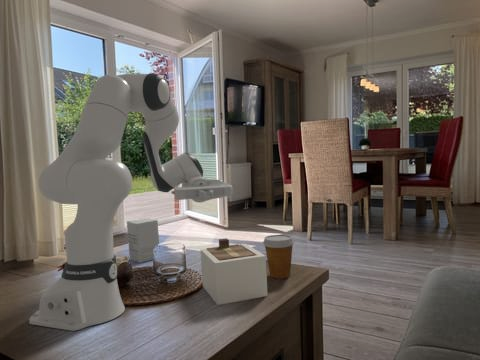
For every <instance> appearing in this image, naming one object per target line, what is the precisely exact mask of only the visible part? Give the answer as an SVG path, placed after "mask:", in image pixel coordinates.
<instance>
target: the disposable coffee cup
mask: <svg viewBox="0 0 480 360" xmlns="http://www.w3.org/2000/svg"><path fill="white" fill-rule="evenodd" d="M294 241H295V240H294V239H293V236H292V235H288V234H271V235H267V236H265V237H264V239H263V242H262V243H263V245H264V248H265V253H266V255H265V256H266V262H267V266H268V271H269V276H270V277H271V278H273V279H287V278H289V277H291V270H292V269H291V268H292V257H293V245H294V243H295V242H294Z"/></svg>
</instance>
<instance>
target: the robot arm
mask: <svg viewBox="0 0 480 360" xmlns="http://www.w3.org/2000/svg"><path fill="white" fill-rule="evenodd" d="M130 112H133V113H141V114H142V116H143V118H144V122H145V123H144V124H145V127H144V130H143V132H142V134H141V139H142V141H141V142H142V144H143V145H142V146H143V149H144V152H145V157H146V160H147V165H148V167H149V173H150V179H151V183H152V186H153V187H154V188H155V189H156V190H157V191H158V192H160V193H161V192H162V193H169V192H171V194H172V195H174V199H175V200H176V201H183V200H184V201H185V200H192V201H193V202H195V203H201V204H202V203H204V202H207V201H211V200H214V199H222V198H225V197H232V196H233V195H234V189H233V185H232V184H229V183H227V182H224V181H223V180H221V179H209V178H205V177H204V169H203V167H202V164H201V163H200V161H199V159H197V157H196V156H195V155H194V154H192V153H189V152H183V153H181V154H179V155H177V156H175V157H174V158H172V159H170V160H169V161H166V162H165V163H162V162H161V158H160V154H159V152H160V148H161V147H162V146H163V144H164V143H165V142H166V141H167V140H168V139H169V138H170V137H171V136H172V135H173V134H174V133H175V131H176V130H177V128H178V126H179V122H180V116H179V113H178V112H179V111H178V110H177V106H176V104H175V102H174V100H173V98H172V96H171V87H170V84H169V82H168V80H167V79H166V78H165V77H164V76H163V75H161V74H159V73H153V72H150V73H134V72H130V73H123V74H118V75H114V74H105V75H102V76H100V77H99V78H98V79H97V81H96V82H95V84H94V86H93V87H92V89H90V93H89V94H88V97H87V99H86V102H85V105H84V108H83V110H82V113H81V116H80V119H79V121H78V124H77V127H76V130H75V131H74V134H73V135H72V137H71V139H70V140H69V142H68V143H67V145H66V146H65V147H64V149H63V151H62V152H61V153H60V154H59V155H58V156H57V157H56V159H54V161H53V162H51V163H50V164H49V165H47V166H46V167H45V168H43V170H42V171H41V172H40V174H39V178H38V187H39V191H40V193H41V194H42V196H44V198H45V199H47V200H49V201H51V202H52V201H53V202H55V203H58V204H62V205H63V204H64V205H77V210H76V215H75V218H74V221H73V222H72V223H70V224H69V225H68V226H67V228H66V229H65V231H64V241H65V252H66V254H65V255H66V261H64V263H62V264H61V265H59V266H57V272H60V271H61V277H59V279H58V280H56V281H55V282H54V283H53V284H52V285H51V286H49V288H47V289H46V290H45V291H44V292H43V294H41V297H40V299H39V305H38V306H39V310H37V311H35V312H34V313H33V314H32V315H31V316H30V318H29V321H28V323H29V324H30V325H34V326H40V327H46V328H53V329H58V330H65V331H71V332H73V331H80V330H83V329H84V328H88V327H91V326H95V325H99V324H103V323H107V322H109V321H112V320H113V319H116V318H118V317H120V316H121V315H122V314H123V313H124V312H125V310H126V308H125V307H126V306H125V305H124V302H123V300H122V297H121V294H120V289H119V284H118V265H117V256H116V255H115V250H114V248H115V247H114V223H115V218H116V215H117V212H118V209H119V207H120V205H121V204H122V202H124V200H125V199H127V197H128V196H129V195H130V194H131V190H132V188H133V187H132V186H133V177H132V174H131V171H130V169H129V168H128V166H127V165H126V164H124V163H123V162H121V161H116V160H112V159H107V158H108V157H109V156H110V155H112V154H113V153H114V152H116V151H117V150H118V148H119V147H120V146H121V142H122V140H123V135H124V131H125V128H126V125H127V122H128V118H129V114H130ZM180 185H181V186H180ZM173 189H174V190H173Z"/></svg>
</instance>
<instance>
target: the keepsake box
mask: <svg viewBox="0 0 480 360" xmlns="http://www.w3.org/2000/svg"><path fill="white" fill-rule="evenodd" d="M239 245H240V246H242V247H243V248H245V249H246V250H248V251H250V252H251V253H253V254H254V255H255V256H249V257H242V258H235V259H229V260H222V261H219V260H218V259H217V258H216V257H215V256H213V255H212V254H211V253H210V252H209V251H208V250H207V249H206V248H202V249H200V260H201V262H200V263H201V279H202V288H204V290H205V291H206V292H207V294H208V295H209V296H210V298H212V300H213V301H214V303H215V304H216V305H217V306H220V305H226V304H231V303H235V302H236V303H237V302H243V301H247V300H253V299H258V298H262V297H268V278H267V255H265V254H263V253H262V252H261V251H259V250H257V249H255V248H253V247H252V246H250V245H249V244H246V243H240V244H239Z"/></svg>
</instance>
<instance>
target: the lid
mask: <svg viewBox="0 0 480 360" xmlns="http://www.w3.org/2000/svg"><path fill="white" fill-rule="evenodd" d="M205 249H207V250H208V251H209V252H210V253H211V254H212V255H213V256H215V257H216V258H217V259H218V260H219V261H222V260H229V259H235V258H242V257H249V256H255V255H254V254H253V253H251V252H250V251H248V250H246V249H245V248H243V247H242V246H240V244H239V243H238V244H237V243H236V244H230V239H228V238H227V237H226V238H219V239H218V246H215V247H207V248H205Z"/></svg>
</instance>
